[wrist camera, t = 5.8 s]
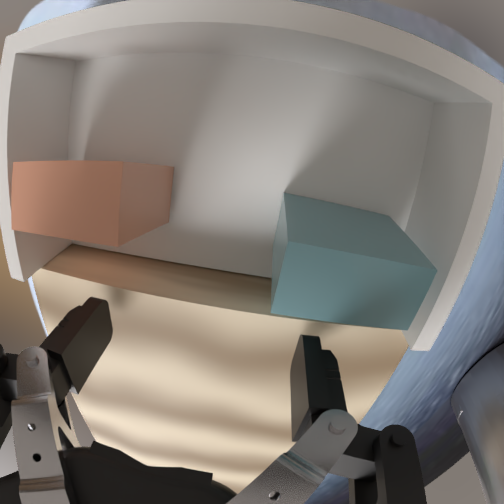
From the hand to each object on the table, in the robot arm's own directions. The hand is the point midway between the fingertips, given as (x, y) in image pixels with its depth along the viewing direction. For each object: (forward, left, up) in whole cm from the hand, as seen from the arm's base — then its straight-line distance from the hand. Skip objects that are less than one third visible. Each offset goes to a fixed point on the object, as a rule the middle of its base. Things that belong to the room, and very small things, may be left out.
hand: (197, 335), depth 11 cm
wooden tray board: (+10, +10, -4) cm, 15 cm away
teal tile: (-5, +2, -1) cm, 6 cm away
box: (-4, -4, -4) cm, 7 cm away
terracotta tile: (+1, -6, -1) cm, 6 cm away
